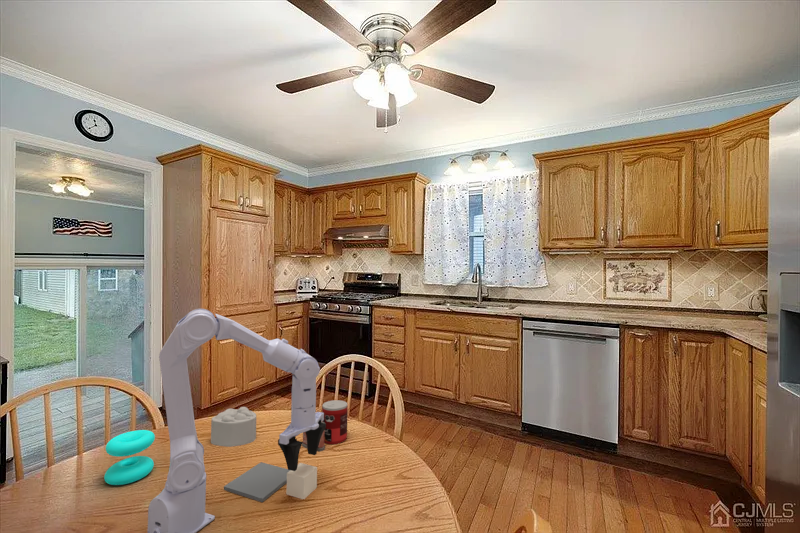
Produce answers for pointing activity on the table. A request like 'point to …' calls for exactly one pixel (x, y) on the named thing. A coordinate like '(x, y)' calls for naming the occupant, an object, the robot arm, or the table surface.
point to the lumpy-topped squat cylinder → (233, 427)
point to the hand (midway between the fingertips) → (302, 461)
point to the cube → (302, 481)
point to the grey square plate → (259, 482)
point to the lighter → (321, 443)
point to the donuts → (131, 466)
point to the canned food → (335, 421)
